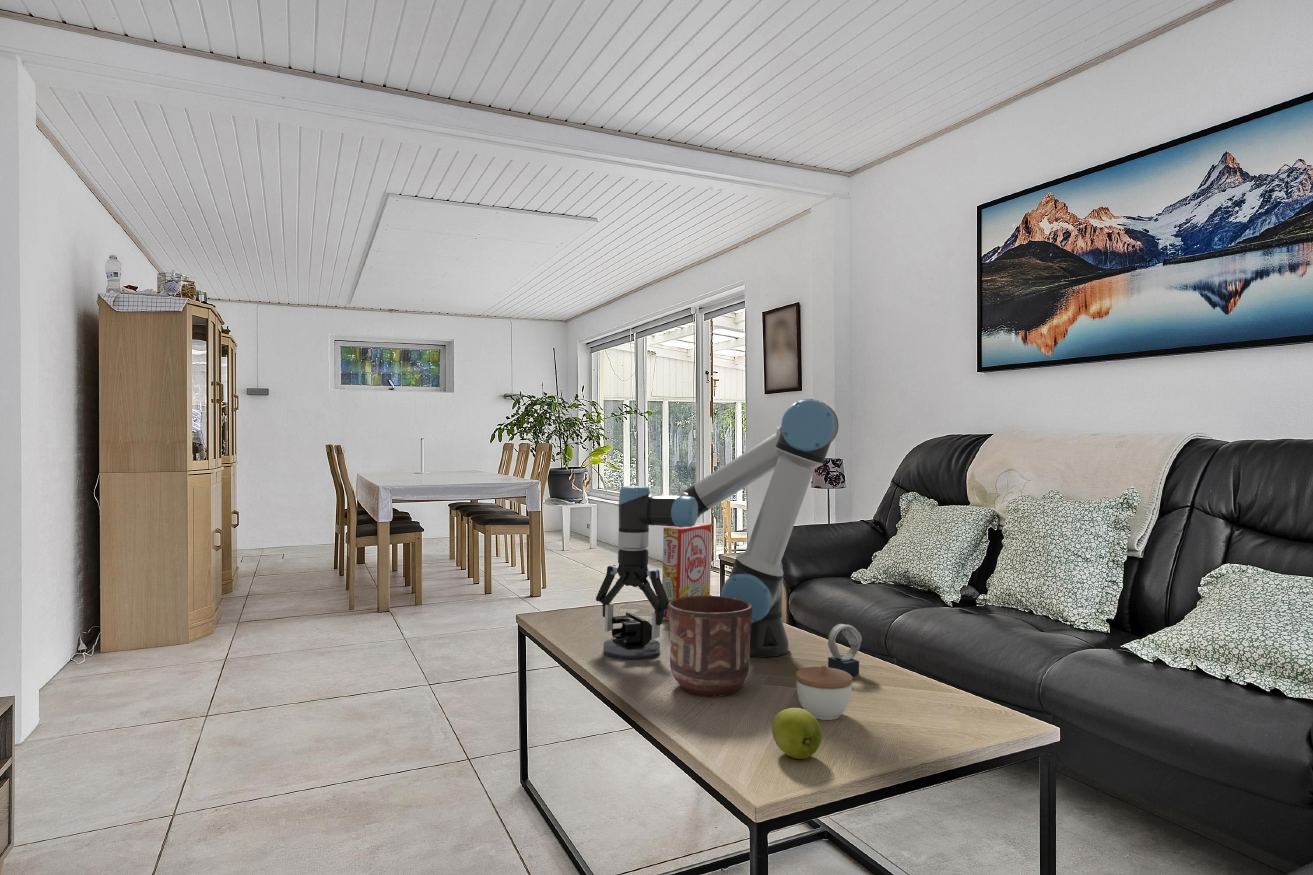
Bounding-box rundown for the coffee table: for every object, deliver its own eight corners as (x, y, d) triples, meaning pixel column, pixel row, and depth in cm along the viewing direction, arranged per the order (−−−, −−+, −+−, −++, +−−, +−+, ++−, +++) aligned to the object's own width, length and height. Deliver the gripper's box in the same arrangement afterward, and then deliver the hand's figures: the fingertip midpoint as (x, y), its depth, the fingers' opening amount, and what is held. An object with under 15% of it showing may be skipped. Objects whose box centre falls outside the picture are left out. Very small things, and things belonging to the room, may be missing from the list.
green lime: (793, 771, 124) (794, 721, 124) (762, 750, 132) (762, 703, 132) (832, 763, 127) (833, 714, 127) (799, 743, 136) (800, 697, 136)
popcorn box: (678, 622, 224) (680, 528, 224) (660, 619, 227) (661, 527, 227) (710, 609, 241) (711, 522, 241) (692, 607, 244) (694, 521, 244)
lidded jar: (841, 728, 143) (841, 677, 143) (786, 717, 148) (787, 668, 148) (859, 711, 152) (859, 663, 152) (807, 701, 158) (807, 655, 158)
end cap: (653, 647, 189) (654, 619, 189) (627, 650, 186) (627, 622, 186) (636, 637, 198) (636, 610, 198) (610, 640, 195) (611, 613, 195)
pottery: (706, 669, 178) (706, 591, 178) (767, 688, 165) (768, 603, 165) (650, 687, 166) (651, 603, 165) (712, 708, 153) (713, 617, 153)
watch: (865, 673, 177) (866, 625, 177) (838, 678, 173) (839, 629, 173) (848, 667, 182) (849, 620, 182) (821, 671, 178) (822, 623, 178)
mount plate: (669, 649, 195) (669, 641, 195) (642, 662, 182) (642, 654, 182) (622, 641, 202) (622, 633, 202) (592, 654, 189) (592, 645, 189)
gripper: (684, 550, 189) (683, 637, 189) (599, 542, 201) (598, 624, 201) (670, 554, 183) (669, 644, 183) (583, 545, 195) (581, 630, 195)
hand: (631, 634), depth 192 cm, fingers open, 13 cm apart
